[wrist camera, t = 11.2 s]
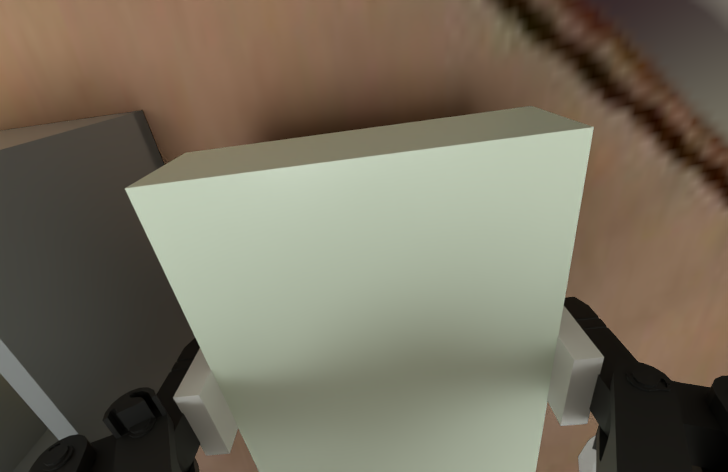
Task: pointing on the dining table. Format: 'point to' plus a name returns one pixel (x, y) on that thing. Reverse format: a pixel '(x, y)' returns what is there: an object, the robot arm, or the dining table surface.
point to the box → (77, 282)
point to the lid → (379, 286)
